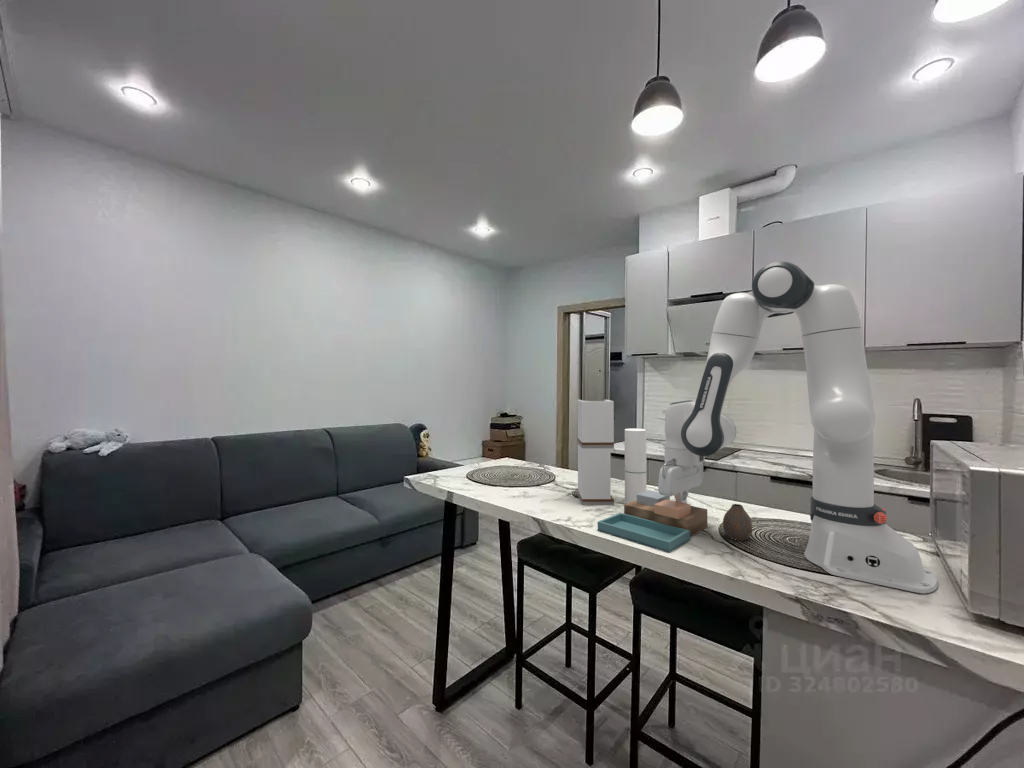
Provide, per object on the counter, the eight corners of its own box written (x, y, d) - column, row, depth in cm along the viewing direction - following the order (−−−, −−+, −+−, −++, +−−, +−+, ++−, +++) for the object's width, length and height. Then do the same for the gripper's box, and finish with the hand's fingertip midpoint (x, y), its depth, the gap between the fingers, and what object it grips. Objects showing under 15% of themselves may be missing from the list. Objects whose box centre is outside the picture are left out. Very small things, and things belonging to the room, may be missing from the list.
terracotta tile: (690, 513, 117) (690, 504, 117) (678, 519, 112) (678, 509, 112) (666, 507, 122) (666, 499, 122) (654, 513, 117) (654, 504, 117)
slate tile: (669, 502, 127) (669, 494, 127) (658, 507, 122) (658, 499, 122) (648, 498, 132) (648, 490, 132) (636, 502, 128) (636, 494, 127)
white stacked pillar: (614, 505, 142) (613, 401, 141) (582, 505, 142) (581, 401, 142) (607, 495, 153) (606, 399, 153) (577, 495, 154) (577, 399, 153)
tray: (690, 540, 111) (690, 530, 111) (669, 552, 103) (669, 542, 103) (620, 520, 126) (620, 512, 126) (597, 530, 118) (597, 521, 118)
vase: (723, 531, 117) (723, 500, 117) (752, 536, 113) (752, 503, 113) (721, 539, 111) (721, 506, 111) (752, 545, 107) (751, 510, 107)
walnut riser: (707, 526, 121) (707, 509, 121) (687, 538, 112) (687, 519, 112) (646, 511, 134) (646, 496, 134) (624, 521, 126) (624, 504, 126)
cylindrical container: (644, 499, 148) (643, 428, 148) (648, 505, 141) (648, 430, 141) (623, 499, 149) (623, 428, 149) (626, 505, 142) (626, 430, 142)
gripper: (674, 463, 111) (674, 516, 111) (707, 454, 125) (707, 500, 125) (652, 460, 116) (652, 510, 116) (686, 451, 129) (686, 496, 130)
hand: (681, 505), depth 120 cm, fingers closed
